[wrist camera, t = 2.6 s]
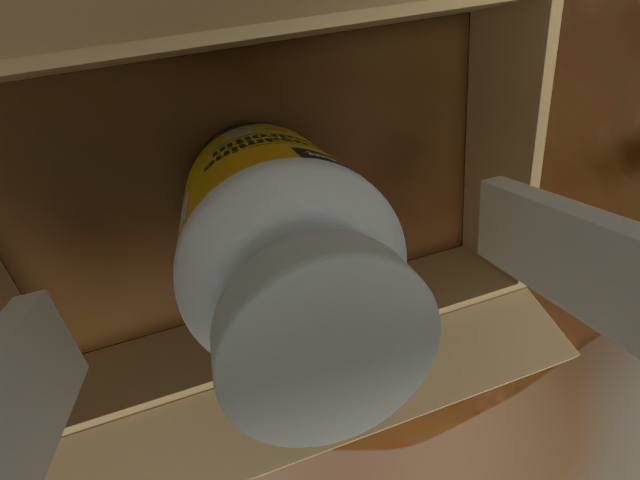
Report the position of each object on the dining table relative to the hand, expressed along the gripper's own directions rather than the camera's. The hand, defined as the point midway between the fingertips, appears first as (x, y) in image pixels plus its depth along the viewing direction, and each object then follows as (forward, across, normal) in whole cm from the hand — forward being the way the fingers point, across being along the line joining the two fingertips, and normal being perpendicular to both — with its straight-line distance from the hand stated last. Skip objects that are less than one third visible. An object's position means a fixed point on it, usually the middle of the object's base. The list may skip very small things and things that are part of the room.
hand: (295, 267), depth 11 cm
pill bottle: (+7, 0, 0) cm, 7 cm away
